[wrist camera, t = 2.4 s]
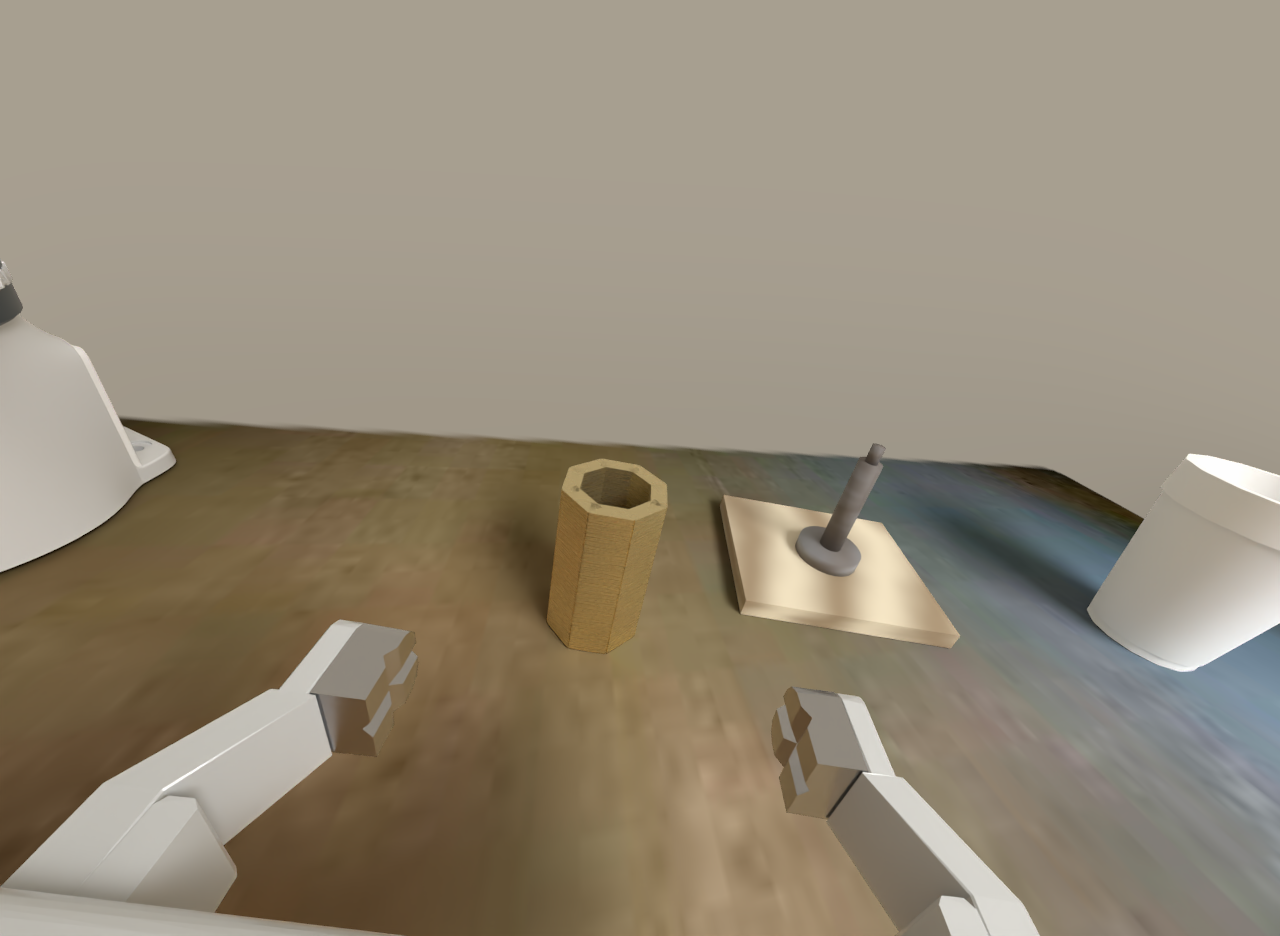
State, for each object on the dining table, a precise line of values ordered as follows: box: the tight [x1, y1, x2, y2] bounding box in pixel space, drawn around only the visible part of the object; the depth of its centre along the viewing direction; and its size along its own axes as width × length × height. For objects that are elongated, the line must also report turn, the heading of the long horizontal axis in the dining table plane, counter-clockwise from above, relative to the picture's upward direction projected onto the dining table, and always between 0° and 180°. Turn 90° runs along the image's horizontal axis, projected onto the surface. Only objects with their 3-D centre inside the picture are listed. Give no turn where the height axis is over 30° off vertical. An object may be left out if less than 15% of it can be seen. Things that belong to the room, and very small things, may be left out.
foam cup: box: [1087, 454, 1280, 672], centre depth 31 cm, size 10×9×13 cm
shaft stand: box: [720, 444, 960, 648], centre depth 32 cm, size 14×12×10 cm
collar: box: [547, 459, 667, 654], centre depth 25 cm, size 5×5×9 cm
